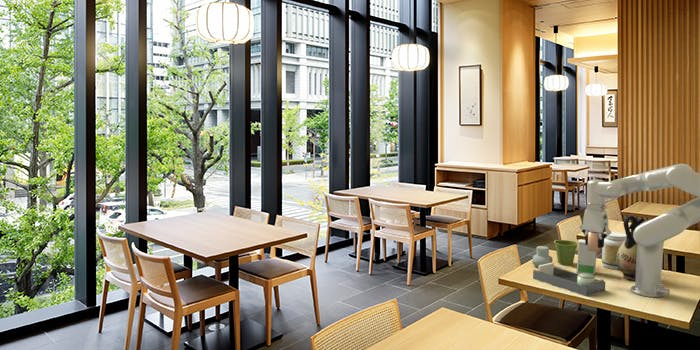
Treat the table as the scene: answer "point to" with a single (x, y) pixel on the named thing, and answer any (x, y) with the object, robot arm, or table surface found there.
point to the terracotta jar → (593, 241)
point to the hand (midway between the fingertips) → (594, 245)
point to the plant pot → (565, 251)
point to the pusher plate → (546, 268)
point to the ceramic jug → (628, 249)
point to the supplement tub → (612, 249)
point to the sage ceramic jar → (585, 278)
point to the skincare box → (585, 259)
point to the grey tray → (569, 281)
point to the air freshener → (542, 256)
